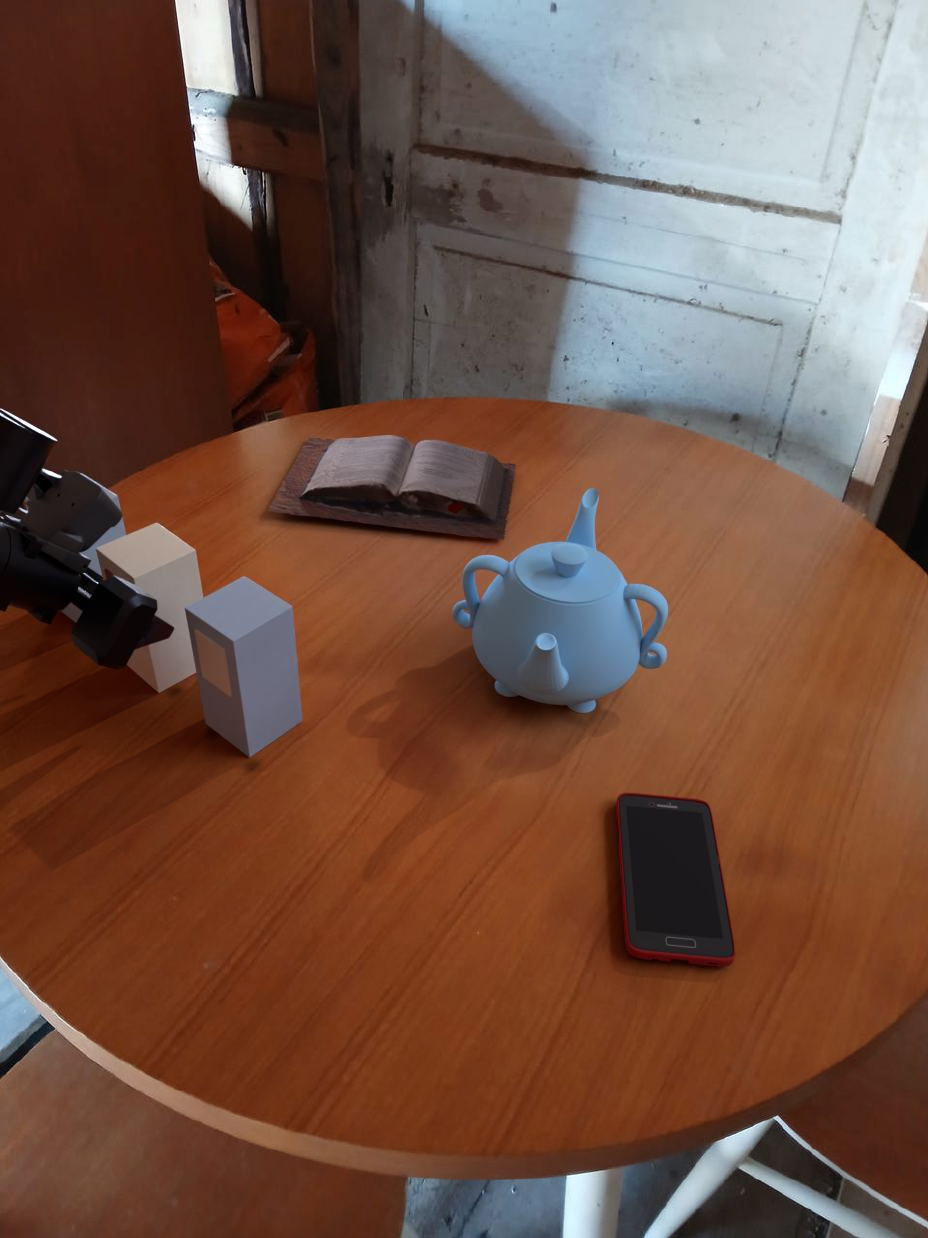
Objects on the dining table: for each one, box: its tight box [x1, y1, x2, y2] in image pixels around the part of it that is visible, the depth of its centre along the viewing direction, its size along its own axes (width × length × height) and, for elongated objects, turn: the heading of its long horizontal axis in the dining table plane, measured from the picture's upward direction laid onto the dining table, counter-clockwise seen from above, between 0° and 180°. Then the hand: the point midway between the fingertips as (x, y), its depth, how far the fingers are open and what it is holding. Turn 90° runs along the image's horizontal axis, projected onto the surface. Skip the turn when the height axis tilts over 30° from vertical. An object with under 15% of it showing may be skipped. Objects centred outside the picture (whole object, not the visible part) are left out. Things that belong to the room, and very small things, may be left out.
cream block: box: [96, 522, 204, 694], centre depth 81 cm, size 6×6×13 cm
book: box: [267, 434, 517, 541], centre depth 111 cm, size 20×28×4 cm
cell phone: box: [615, 792, 737, 968], centre depth 69 cm, size 8×15×1 cm, turn 176°
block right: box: [185, 575, 303, 758], centre depth 76 cm, size 6×6×13 cm
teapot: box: [451, 487, 669, 714], centre depth 83 cm, size 16×20×14 cm
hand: (139, 609), depth 80 cm, fingers open, 9 cm apart
